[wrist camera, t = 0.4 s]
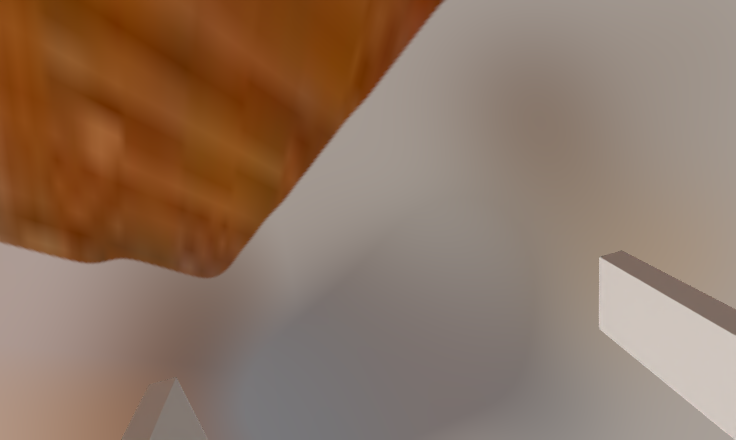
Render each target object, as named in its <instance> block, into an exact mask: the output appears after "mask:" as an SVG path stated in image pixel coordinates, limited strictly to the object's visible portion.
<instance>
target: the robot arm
mask: <svg viewBox="0 0 736 440" xmlns="http://www.w3.org/2000/svg"><path fill="white" fill-rule="evenodd" d="M599 329H600V330H602V331H603V332H604V333H605V334H606V335H607V336H609V337H610V338H611V339H613V340H614V341H615V342H616V343H617V344H618V345H620V346H621V347H622V348H623V349H625V350H626V351H627V352H628V353H629V354H631V355H632V356H633V357H634V358H635V359H637V360H638V361H639V362H640V363H642V364H643V365H644V366H645V367H646V368H648V369H649V370H650V371H651V372H653V373H654V374H655V375H656V376H657V377H659V378H660V379H661V380H662V381H664V382H665V383H666V384H667V385H668V386H670V387H671V388H672V389H673V390H675V391H676V392H677V393H678V394H679V395H681V396H682V397H683V398H684V399H685V400H687V401H688V402H689V403H690V404H692V405H693V406H694V407H695V408H696V409H698V410H699V411H700V412H701V413H703V414H704V415H705V416H706V417H707V418H709V419H710V420H711V421H712V422H713V423H715V424H716V425H717V426H718V427H720V428H721V429H722V430H723V431H724V432H726V433H727V434H728V435H729V436H731V437H732V438H733V439H734V440H736V309H733V308H732V307H730V306H728V305H726V304H724V303H722V302H720V301H718V300H716V299H714V298H712V297H711V296H708V295H706V294H705V293H703V292H701V291H699V290H697V289H695V288H693V287H691V286H689V285H687V284H685V283H684V282H682V281H680V280H678V279H676V278H674V277H672V276H670V275H668V274H666V273H664V272H662V271H661V270H659V269H657V268H655V267H653V266H651V265H649V264H647V263H645V262H643V261H641V260H639V259H637V258H635V257H634V256H632V255H629V254H628V253H626V252H624V251H618V252H615V253H611V254H608V255H604V256H601V257H599ZM121 440H208V439H207V437H206V435H205V433H204V431H203V429H202V427H201V425H200V423H199V421H198V419H197V417H196V415H195V413H194V411H193V409H192V407H191V405H190V404H189V401H188V399H187V397H186V395H185V393H184V392H183V389H182V388H181V386H180V383H179V381H178V380H177V378H176V377H175V378H171V379H167V380H164V381H160V382H157V383H153V384H150V385H149V386H148V388H147V390H146V392H145V394H144V396H143V398H142V400H141V402H140V404H139V406H138V408H137V410H136V412H135V414H134V416H133V418H132V420H131V421H130V423H129V425H128V427H127V429H126V431H125V433H124V435H123V437H122V439H121Z"/></svg>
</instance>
